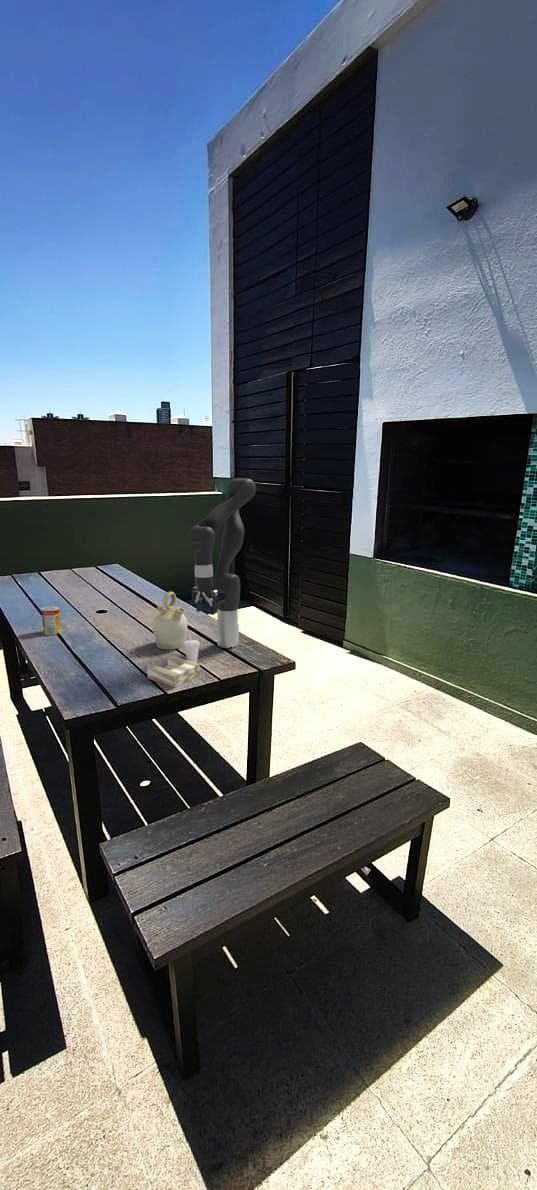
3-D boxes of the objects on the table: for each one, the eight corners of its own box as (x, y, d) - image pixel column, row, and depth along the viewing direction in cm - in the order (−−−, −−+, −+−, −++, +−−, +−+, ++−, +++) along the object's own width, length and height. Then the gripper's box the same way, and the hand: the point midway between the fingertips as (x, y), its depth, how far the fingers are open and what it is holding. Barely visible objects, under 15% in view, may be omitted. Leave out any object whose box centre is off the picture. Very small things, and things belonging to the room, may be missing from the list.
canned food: (62, 629, 238) (60, 605, 235) (61, 634, 231) (59, 610, 228) (44, 630, 236) (42, 606, 233) (43, 635, 229) (40, 611, 226)
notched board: (172, 666, 197) (172, 656, 196) (199, 674, 190) (199, 664, 189) (147, 678, 186) (147, 667, 185) (175, 687, 179) (175, 676, 178)
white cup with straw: (184, 661, 202) (184, 629, 199) (200, 661, 203) (200, 629, 200) (183, 667, 196) (182, 635, 193) (199, 667, 197) (199, 634, 193)
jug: (194, 645, 222) (193, 591, 215) (166, 653, 211) (164, 598, 204) (174, 636, 232) (173, 585, 225) (146, 644, 221) (144, 591, 214)
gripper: (222, 575, 199) (224, 613, 203) (199, 571, 208) (201, 608, 212) (209, 578, 194) (210, 617, 197) (185, 574, 203) (187, 612, 206)
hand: (205, 612), depth 205 cm, fingers open, 8 cm apart
